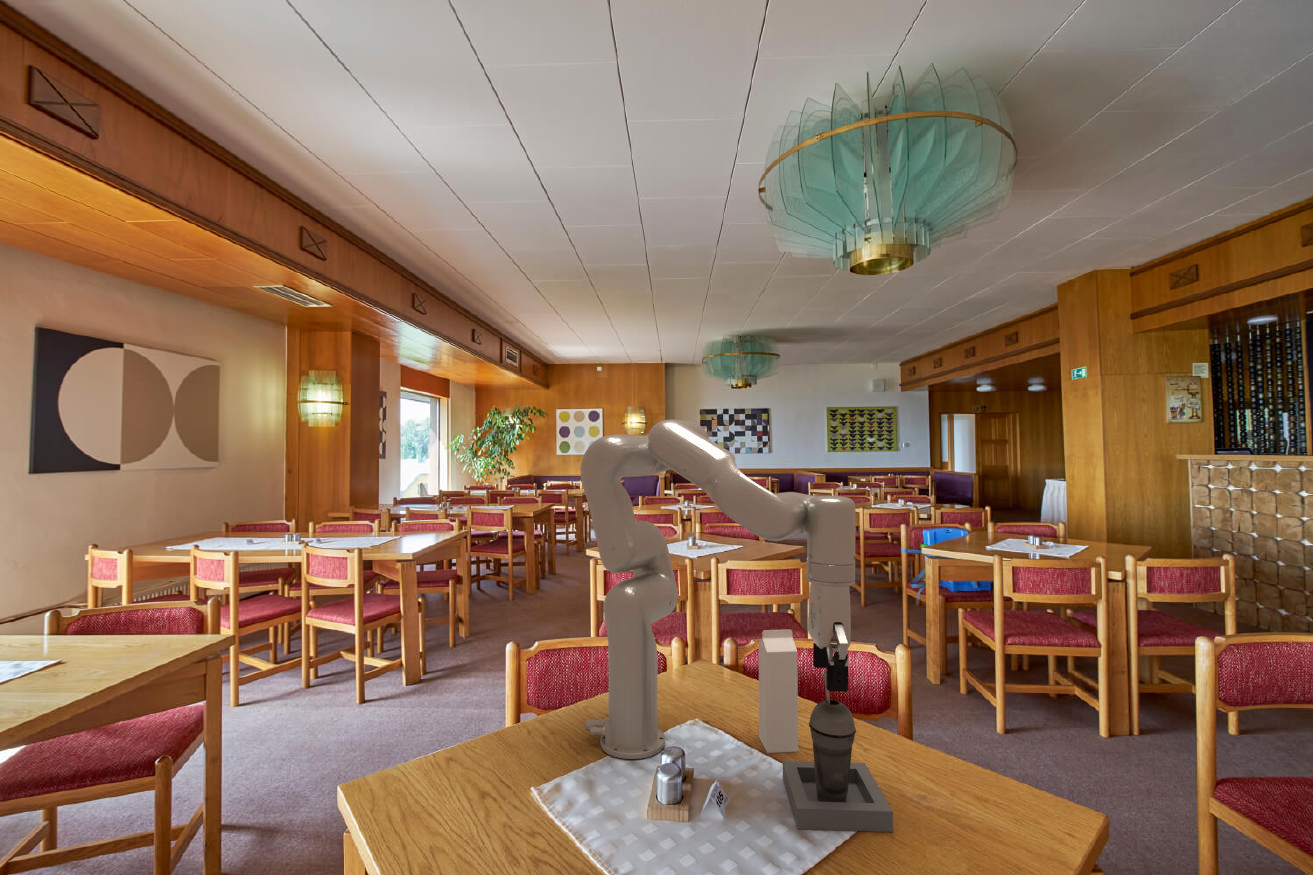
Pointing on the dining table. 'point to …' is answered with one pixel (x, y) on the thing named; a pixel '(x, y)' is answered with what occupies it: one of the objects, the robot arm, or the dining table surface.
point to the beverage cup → (832, 748)
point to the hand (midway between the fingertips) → (829, 678)
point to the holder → (856, 814)
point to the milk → (778, 692)
